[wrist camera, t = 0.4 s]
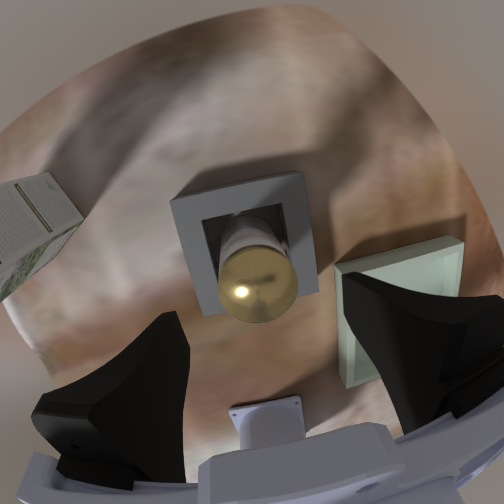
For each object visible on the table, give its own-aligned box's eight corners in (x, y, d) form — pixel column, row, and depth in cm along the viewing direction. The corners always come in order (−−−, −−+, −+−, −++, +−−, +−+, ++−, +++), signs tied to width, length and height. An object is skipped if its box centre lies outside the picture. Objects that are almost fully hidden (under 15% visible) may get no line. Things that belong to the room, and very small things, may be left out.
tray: (435, 337, 27) (446, 348, 25) (338, 373, 27) (346, 389, 25) (448, 234, 23) (464, 242, 20) (333, 264, 23) (344, 276, 20)
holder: (312, 280, 23) (319, 291, 21) (205, 303, 23) (203, 316, 21) (295, 170, 20) (302, 172, 18) (175, 196, 20) (169, 201, 18)
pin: (278, 259, 22) (302, 313, 15) (227, 270, 22) (228, 329, 14) (268, 210, 21) (292, 243, 13) (215, 221, 21) (208, 261, 13)
